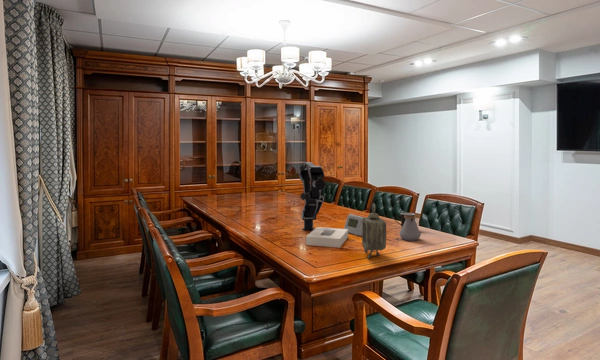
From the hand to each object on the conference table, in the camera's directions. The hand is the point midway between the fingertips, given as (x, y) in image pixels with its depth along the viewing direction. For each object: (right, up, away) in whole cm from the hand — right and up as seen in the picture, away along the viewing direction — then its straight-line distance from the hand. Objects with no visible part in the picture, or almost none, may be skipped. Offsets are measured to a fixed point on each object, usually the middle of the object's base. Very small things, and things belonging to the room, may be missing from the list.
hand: (315, 214), depth 217 cm
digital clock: (+24, -12, +6) cm, 27 cm away
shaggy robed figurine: (+26, -16, -39) cm, 50 cm away
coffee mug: (+57, -11, +18) cm, 60 cm away
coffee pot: (+51, -14, -12) cm, 54 cm away
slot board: (+7, -13, -11) cm, 19 cm away
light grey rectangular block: (+7, -13, -11) cm, 18 cm away
